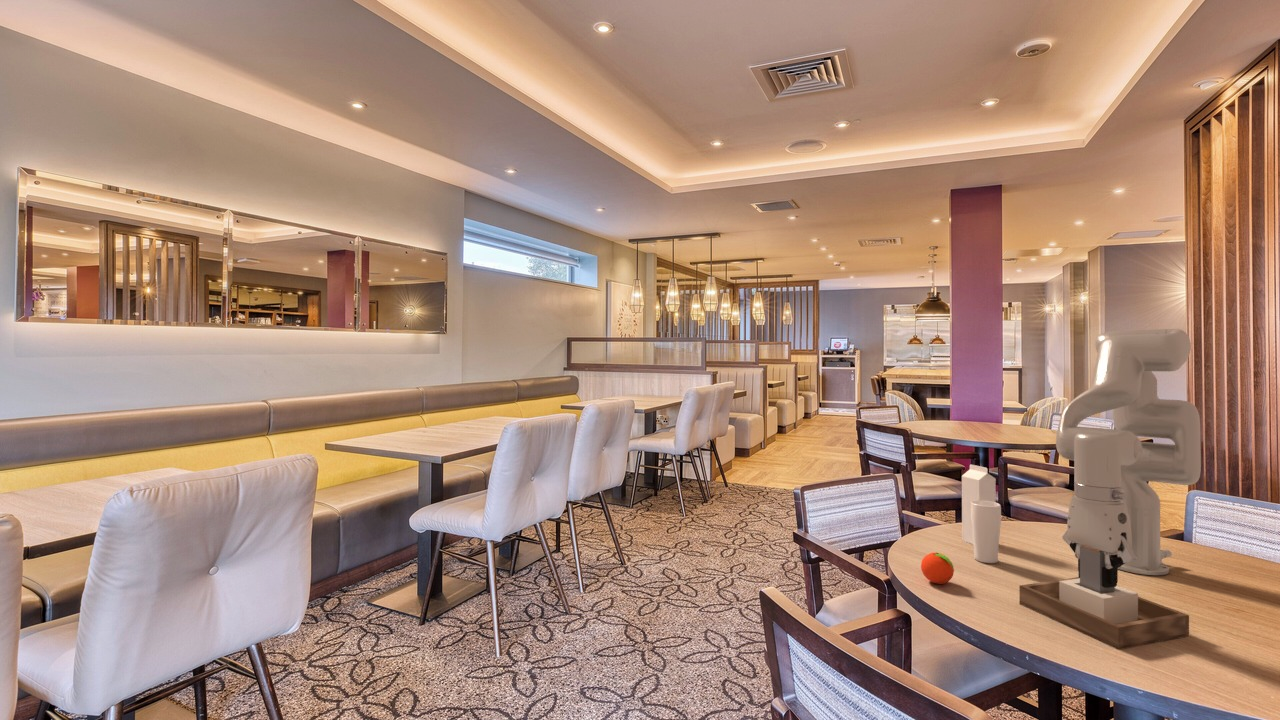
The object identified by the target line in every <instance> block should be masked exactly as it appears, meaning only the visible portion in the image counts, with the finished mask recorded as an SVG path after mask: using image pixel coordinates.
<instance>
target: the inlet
mask: <svg viewBox="0 0 1280 720" xmlns="http://www.w3.org/2000/svg"><path fill="white" fill-rule="evenodd" d="M1138 597H1139V593H1138V592H1135V591H1134V590H1130V589H1128V588H1125V587H1121V586H1118V585H1117V586H1116V587H1115V592H1111V593H1105V594H1100V593H1097V592H1095V591H1092V590H1090V589H1087V588H1084V587H1082V586H1080V578H1079V579H1072V580H1065V581H1059V600H1060V601H1062V602H1065V603H1067V604H1069V605H1072V606H1074V607H1077V608H1079V609H1081V610H1084V611H1086V612H1088V613H1091V614H1093V615H1096V616H1098V617H1100V618H1103V619H1105V620H1107V621H1110V622H1112V623H1114V624H1119V623H1125V622H1131V621H1137V620H1138Z"/></svg>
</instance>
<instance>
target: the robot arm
mask: <svg viewBox="0 0 1280 720" xmlns="http://www.w3.org/2000/svg"><path fill="white" fill-rule="evenodd" d="M1191 344H1192V343H1191V340H1190V337H1189V335H1188V333H1187V332H1186V331H1185V330H1183V329H1179V328H1160V329H1124V330H1123V329H1122V330H1111V331H1107V332H1106V331H1105V332H1103V333H1100V334H1099V335H1097V337H1096V339H1095V344H1094V345H1095V349H1096V353H1097V354H1096V360H1095V365H1094V371H1093V376H1092V380H1091V381H1092V382H1091V386H1090V388H1088V389H1086V390H1084V391H1083V392H1081V393H1080V394H1078V395H1077V396H1076V397H1075V398H1073V399H1072V400H1071V401H1070V402H1069V403H1068V404H1067V405H1066V407H1065V408H1064V409H1063V411H1062V412H1061V415H1060V418H1059V423H1058V427H1057V432H1056V439H1055V447H1056V450H1057V453H1058V454H1059V456H1061V457H1062V458H1063V459H1066V460H1070V461H1073V462H1074V463H1073V466H1074V469H1073V471H1074V477H1073V478H1074V480H1073V481H1074V482H1073V483H1074V484H1073V486H1074V487H1073V488H1074V489H1073V491H1074V492H1073V493H1074V495H1072V496H1071V498H1070V501H1069V506H1068V512H1067V513H1068V514H1067V522H1066V523H1067V524H1066V525H1067V528H1066V529H1067V530H1066V531H1065V532H1064V534H1063V535H1062V537H1061V539H1062V540H1063V541H1064V542H1065V543H1066V544H1067V545H1068V546H1069V548H1070V549H1071V550H1072V551H1073V553H1074V557H1075V558H1076V559H1077V572H1078V577H1079V578H1080V547H1081V546H1086V547H1089V548H1093V549H1096V550H1099V551H1102V553H1103V558H1104V564H1105V567H1102V586H1103V587H1105V588H1110V587H1116V586H1118V583H1119V582H1118V580H1119V579H1118V578H1119V577H1118V576H1119V575H1118V574H1119V573H1118V571H1119V570H1121V571H1124V572H1128V573H1133V574H1139V575H1146V576H1165V575H1167V574H1169V573H1170V567H1169V566H1168V565H1167V564H1165V563H1163V559H1165V558H1166V559H1167V558H1170V557H1172V552H1171V550H1170V549H1161V499H1160V496H1159V495H1158V494H1157V492H1156V491H1155V490H1154V489H1153V487H1152V486H1151V485H1150V484H1148V482H1151V483H1152V482H1155V483H1162V484H1163V483H1164V484H1170V485H1178V486H1179V485H1180V486H1193V485H1194V484H1196V483H1198V481H1199V479H1200V478H1201V470H1202V469H1201V468H1202V460H1201V459H1202V458H1201V457H1202V456H1201V455H1202V453H1201V452H1202V451H1201V448H1202V447H1201V446H1202V445H1201V443H1202V442H1201V420H1200V413H1199V411H1198V408H1197V407H1196V405H1194V404H1193V403H1192V402H1190V401H1186V400H1181V399H1167V398H1165V399H1163V398H1161V399H1160V398H1159V397H1158V379H1157V377H1156V375H1155V374H1154V373H1153V372H1168V373H1169V372H1176V371H1177V370H1179V369H1180V368H1182V366H1183V365H1184V364H1186V362H1187V361H1188V359H1189V357H1190V355H1191V347H1192V346H1191ZM1107 411H1112V418H1113V420H1112V421H1113V426H1114V428H1113V429H1112V428H1103V427H1089V426H1078V425H1080V423H1082V422H1083V421H1084V420H1085V419H1088V418H1089V417H1092V416H1094V415H1097V414H1098V415H1099V414H1100V413H1105V412H1107ZM1139 437H1144V438H1157V439H1158V438H1159V439H1166V440H1167V439H1168V440H1171V441H1172V442H1173V443H1174V444H1172V443H1171V444H1170V443H1158V442H1151V441H1150V442H1148V441H1141V440H1140V439H1139ZM1111 556H1112V559H1111Z"/></svg>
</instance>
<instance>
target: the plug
mask: <svg viewBox="0 0 1280 720" xmlns="http://www.w3.org/2000/svg"><path fill="white" fill-rule="evenodd" d="M1111 559H1112V556H1111ZM1102 567H1105V564H1104V558H1103V553H1102V551H1099V550H1096V549H1093V548H1089V547H1086V546H1081V547H1080V586H1082V587H1084V588H1087V589H1090V590H1092V591H1095V592H1097V593H1100V594H1105V593H1111V592H1115V587H1110V588H1105V587H1103V586H1102Z"/></svg>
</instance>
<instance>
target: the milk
mask: <svg viewBox="0 0 1280 720" xmlns="http://www.w3.org/2000/svg"><path fill="white" fill-rule="evenodd" d="M988 470H989V469H988V468H987V467H984V466H982V465H980V466H979V465H975V464H969V469H968V470H967V471H965V473H963V474H962V475H961V541H962V542H965V543H967V544H971V545H973V534H972V524H971V502H972V501H975V500H983V501H991V502H995V503H997V502H996V501H997V500H996V496H997V493H996V492H997V491H996V489H997V488H996V486H997V485H996V483H997V482H996V481H997V480H996V477H994V476H993V475H991V474H990V473H988V472H989V471H988Z"/></svg>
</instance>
